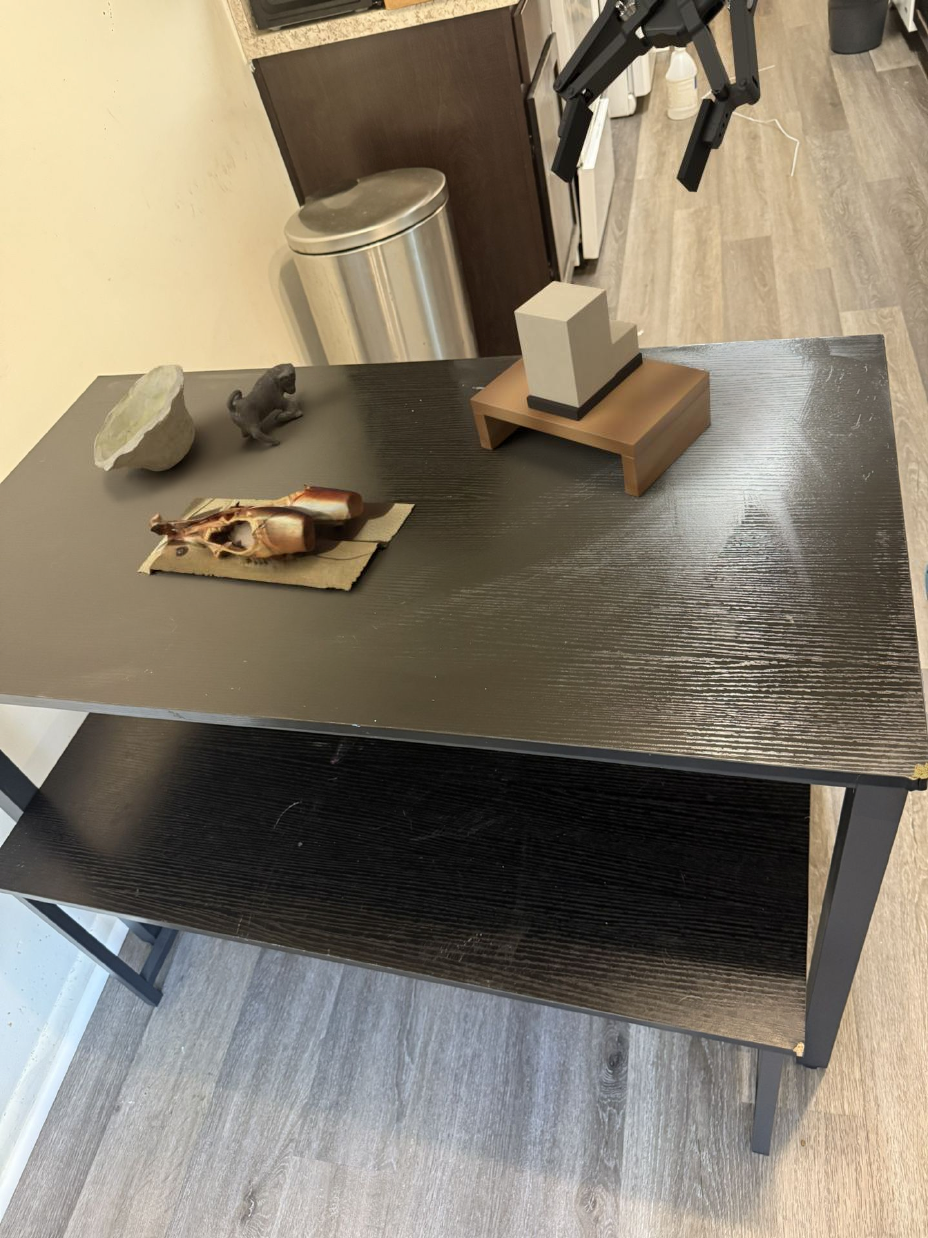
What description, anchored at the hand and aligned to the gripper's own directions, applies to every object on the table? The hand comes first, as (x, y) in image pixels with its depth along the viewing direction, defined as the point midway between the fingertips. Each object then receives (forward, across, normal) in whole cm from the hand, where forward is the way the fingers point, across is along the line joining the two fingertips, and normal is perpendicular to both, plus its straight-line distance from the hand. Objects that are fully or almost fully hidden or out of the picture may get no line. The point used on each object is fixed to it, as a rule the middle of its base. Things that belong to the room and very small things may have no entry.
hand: (620, 181), depth 79 cm
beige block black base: (+17, 0, -5) cm, 18 cm away
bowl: (+40, +46, +8) cm, 62 cm away
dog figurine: (+31, +38, 0) cm, 49 cm away
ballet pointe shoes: (+42, +20, +11) cm, 48 cm away
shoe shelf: (+22, 0, -10) cm, 24 cm away
